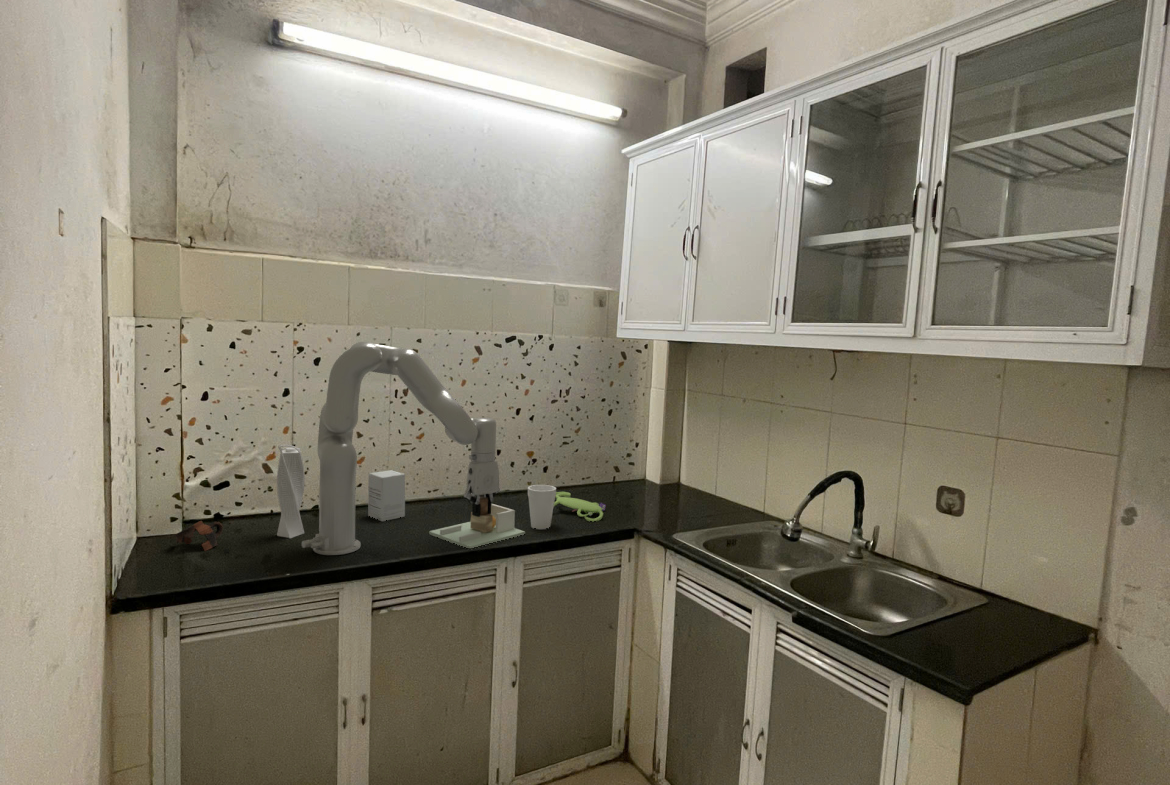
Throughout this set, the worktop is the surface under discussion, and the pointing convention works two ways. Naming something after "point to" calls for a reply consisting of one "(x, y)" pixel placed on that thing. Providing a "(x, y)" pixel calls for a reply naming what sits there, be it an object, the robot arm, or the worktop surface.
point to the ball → (493, 522)
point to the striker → (482, 517)
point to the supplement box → (386, 495)
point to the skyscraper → (290, 491)
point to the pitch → (475, 538)
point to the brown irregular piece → (203, 530)
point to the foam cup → (541, 505)
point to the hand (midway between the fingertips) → (481, 514)
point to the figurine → (580, 505)
